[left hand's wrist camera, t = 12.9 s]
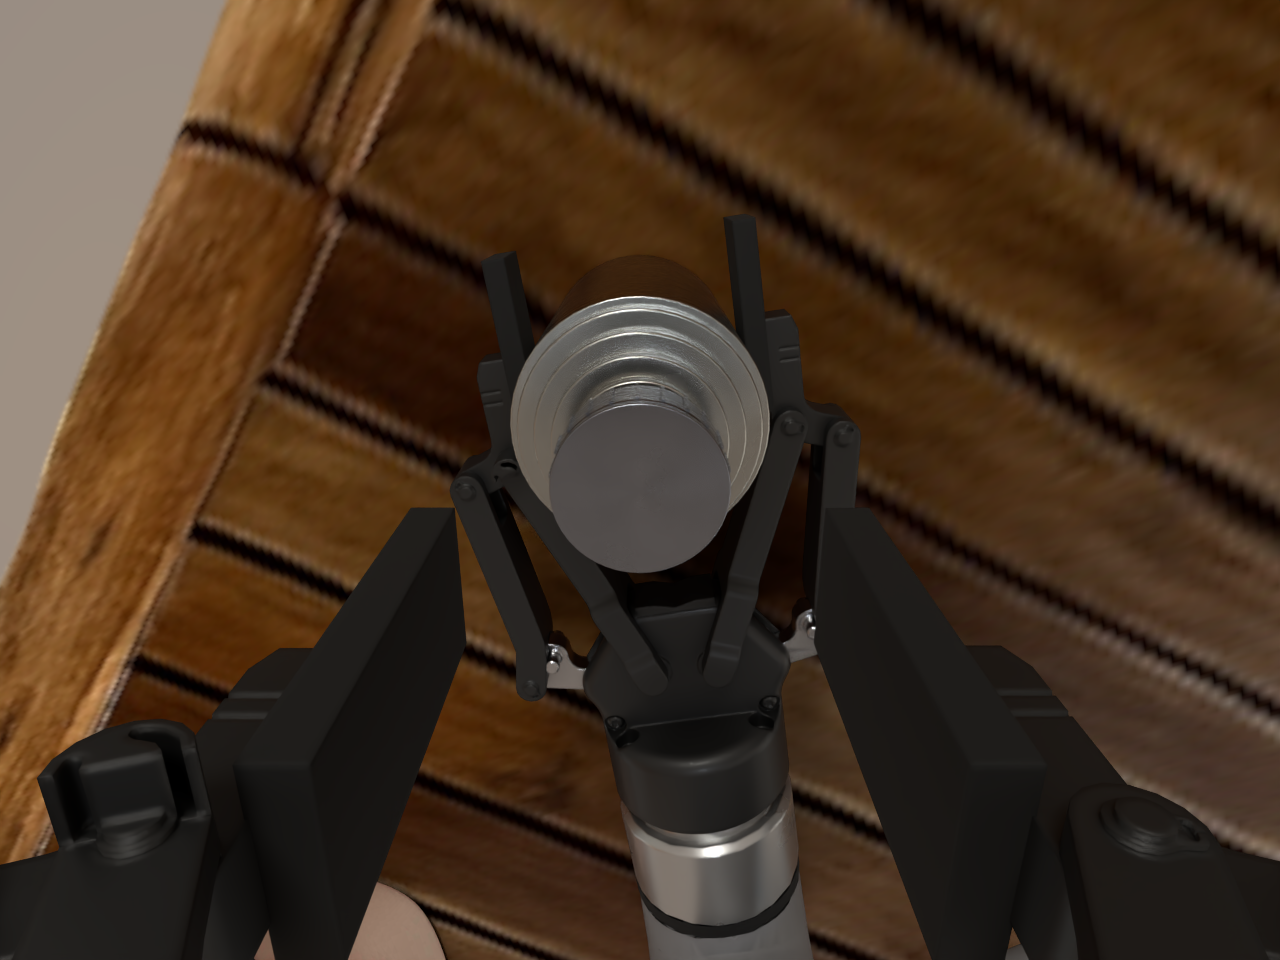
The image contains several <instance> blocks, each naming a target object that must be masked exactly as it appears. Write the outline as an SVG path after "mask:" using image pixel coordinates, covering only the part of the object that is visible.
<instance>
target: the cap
mask: <svg viewBox="0 0 1280 960" xmlns="http://www.w3.org/2000/svg"><path fill="white" fill-rule="evenodd" d="M723 449H724V445H723V442H722V438H721V435H720V432H719V430H715V428H714V426H713V425H712V423H711V422H710V420H709V419H708V416H707V413H706V411H705V410H704V411H701V410H700V409H699V408H698V407H697V406H696V405H695V404H694V403H692V402H691V401H689V400H688V397H687V396H686V395H684V396H681V395H679V394H677V393H675V392H672V391H669V390H667V389H664V386H661V387H660V388H659V387H654V386H643V385H639V383H636V384H635V386H627V387H621V388H617V389H614V387H612V388H610V391H608V392H605V393H603V394H601V395H599V396H597V397H596V398H594V399H591V398H590V399H588V402H587V404H585V405H584V406H583V407H582V408H581V409H580V410H579V411H578V412H577V413H576V414H575V415H573V414H572V415H571V416H570V419H569V423H568V425H567V426H566V428H565V430H564V432H563V434H562V435H559V437H558V440H557V443H556V447H555V450H554V454H556V455H555V457H554V458H553V462H552V465H551V468H550V471H549V475H548V478H550V479H549V495H550V503H551V507H552V511H553V514H554V517H555V519H556V522H557V524H558V526H559V527H560V529H561V531H562V533H563V534H564V535H565V537H566V538H567V539H568V541H569V542H570V543H571V544H572V545H573V546H574V547H575V548H576V549H577V550H579V551H580V552H581V553H582V554H584V555H585V556H586V557H588V558H589V559H591V560H593V561H594V562H596V563H598V564H601V565H603V566H605V567H608V568H611V569H614V570H618V571H623V572H631V573H650V572H657V571H662V570H666V569H669V568H672V567H675V566H677V565H680V564H682V563H684V562H686V561H687V560H689V559H691V558H693V557H694V556H695V555H697V554H698V553H699V552H701V551H702V550H703V549H704V548H705V547H706V546H707V545H708V544H709V543H710V542H711V541H712V539H713V538H714V537H715V536H716V534H717V533H718V531H719V529H720V528H721V526H722V524H723V522H724V519H725V517H726V515H727V511H728V508H729V504H730V497H731V479H730V472H731V468H730V464H729V461H728V458H727V455H726V452H723Z"/></svg>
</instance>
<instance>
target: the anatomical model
mask: <svg viewBox="0 0 1280 960" xmlns="http://www.w3.org/2000/svg"><path fill="white" fill-rule="evenodd" d="M254 958H255V960H275V958H274V953H273V949H272V944H271V940H270V935H269V931H267V933H266V935H265V937H264V939H263V941H262V943H261V945H260V947H259V949H258V951H257V953H256V955H255V957H254ZM348 960H446V959H445V956H444V953H443V951H442V948H441V945H440V942H439V940H438V938H437V936H436V933H435V931H434V929H433V927H432V925H431V923H430V922H429V920H428V918H427V917H426V915H425V914H424V912H423V911H422V910H421V908H420V907H419V906H418V905H417V904H416V903H415V902H414V901H413V900H411V899H410V898H409V897H408V896H406V895H404V894H403V893H401V892H400V891H398V890H396V889H394V888H392V887H390V886H387V885H385V884H382V883H379V882H377V884H376V886H375V889H374V892H373V894H372V897H371V900H370V902H369V905H368V908H367V910H366V913H365V916H364V918H363V921H362V924H361V926H360V929H359V932H358V934H357V937H356V940H355V942H354V945H353V948H352V950H351V953H350V956H349V959H348Z"/></svg>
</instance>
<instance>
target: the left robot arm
mask: <svg viewBox="0 0 1280 960" xmlns="http://www.w3.org/2000/svg"><path fill="white" fill-rule="evenodd" d="M465 646H466V632H465V621H464V610H463V598H462V587H461V576H460V564H459V553H458V541H457V530H456V519H455V508H411V509H410V510H409V512H408V513H407V514H406V516H405V517H404V519H403V520H402V522H401V523H400V524H399V526H398V527H397V529H396V530H395V532H394V533H393V535H392V536H391V537H390V539H389V540H388V542H387V543H386V545H385V546H384V547H383V549H382V550H381V552H380V553H379V555H378V556H377V558H376V559H375V560H374V562H373V563H372V565H371V566H370V568H369V569H368V570H367V572H366V573H365V575H364V576H363V578H362V579H361V581H360V582H359V583H358V585H357V586H356V588H355V589H354V591H353V592H352V593H351V595H350V596H349V598H348V599H347V601H346V602H345V604H344V605H343V606H342V608H341V609H340V611H339V612H338V614H337V615H336V616H335V618H334V619H333V621H332V622H331V624H330V625H329V627H328V628H327V629H326V631H325V632H324V634H323V635H322V637H321V638H320V639H319V641H318V642H317V644H316V645H315V647H314V648H279V649H278V650H276V651H275V652H273V653H272V654H270V655H269V656H267V657H266V658H264V659H263V660H261V661H260V662H258V663H257V664H255V665H254V666H252V667H251V668H249V669H248V670H247V671H246V673H245V674H244V675H243V676H242V678H241V679H240V680H239V681H238V683H237V684H236V685H235V686H234V688H233V689H232V690H231V691H230V693H229V697H228V699H224V700H223V701H222V703H221V704H220V705H219V707H218V708H217V709H216V710H215V712H214V713H213V714H212V715H213V716H212V719H208V720H207V722H206V723H205V724H204V725H203V727H202V728H201V729H200V730H199V732H198V733H197V734H196V735H195V734H194V732H193V731H191V730H190V729H189V728H188V727H186V726H185V725H184V724H183V723H180V722H175V721H170V720H164V719H154V720H141V721H133V722H129V723H125V724H122V725H118V726H114V727H111V728H107V729H104V730H102V731H100V732H98V733H95V734H93V735H91V736H89V737H87V738H85V739H82V740H80V741H78V742H76V743H75V744H73V745H72V746H70V747H69V748H68V749H66V750H65V751H63V752H62V753H61V754H59V755H58V756H56V757H55V758H54V759H52V760H51V761H50V763H49V764H48V765H47V766H46V768H45V769H44V770H43V771H42V773H41V774H40V775H39V776H38V777H37V780H38V783H39V786H40V789H41V792H42V795H43V798H44V802H45V805H46V808H47V811H48V814H49V817H50V820H51V823H52V826H53V829H54V832H55V835H56V838H57V841H58V844H59V850H58V851H55V852H52V853H49V854H45V855H41V856H37V857H32V858H28V859H24V860H19V861H15V862H11V863H6V864H2V865H0V960H253V959H254V957H255V955H256V953H257V951H258V949H259V947H260V945H261V943H262V941H263V939H264V937H265V935H266V933H267V931H269V935H270V940H271V944H272V949H273V953H274V958H275V960H348V959H349V956H350V953H351V950H352V948H353V945H354V942H355V940H356V937H357V934H358V932H359V929H360V926H361V924H362V921H363V918H364V916H365V913H366V910H367V908H368V905H369V902H370V900H371V897H372V894H373V892H374V889H375V886H376V884H377V881H378V878H379V876H380V873H381V870H382V868H383V865H384V862H385V860H386V857H387V854H388V852H389V849H390V846H391V843H392V841H393V838H394V835H395V833H396V830H397V827H398V825H399V822H400V819H401V817H402V814H403V811H404V809H405V806H406V803H407V801H408V798H409V795H410V793H411V790H412V787H413V785H414V782H415V779H416V777H417V774H418V771H419V769H420V766H421V763H422V761H423V758H424V755H425V753H426V750H427V747H428V744H429V742H430V739H431V736H432V734H433V731H434V728H435V726H436V723H437V720H438V718H439V715H440V712H441V710H442V707H443V704H444V702H445V699H446V696H447V694H448V691H449V688H450V686H451V683H452V680H453V678H454V675H455V672H456V670H457V667H458V664H459V662H460V659H461V656H462V654H463V651H464V648H465ZM814 646H815V648H816V651H817V654H818V656H819V659H820V662H821V664H822V667H823V670H824V672H825V675H826V678H827V680H828V683H829V686H830V688H831V691H832V694H833V696H834V699H835V702H836V704H837V707H838V710H839V712H840V715H841V718H842V720H843V723H844V726H845V728H846V731H847V734H848V736H849V739H850V742H851V744H852V747H853V750H854V753H855V755H856V758H857V761H858V763H859V766H860V769H861V771H862V774H863V777H864V779H865V782H866V785H867V787H868V790H869V793H870V795H871V798H872V801H873V803H874V806H875V809H876V811H877V814H878V817H879V819H880V822H881V825H882V827H883V830H884V833H885V835H886V838H887V841H888V843H889V846H890V849H891V852H892V854H893V857H894V860H895V862H896V865H897V868H898V870H899V873H900V876H901V878H902V881H903V884H904V886H905V889H906V892H907V894H908V897H909V900H910V902H911V905H912V908H913V910H914V913H915V916H916V918H917V921H918V924H919V926H920V929H921V932H922V934H923V937H924V940H925V942H926V945H927V948H928V950H929V953H930V956H931V959H932V960H1005V958H1006V953H1007V949H1008V944H1009V940H1010V935H1011V931H1012V927H1013V929H1014V931H1015V933H1016V935H1017V937H1018V939H1019V941H1020V943H1021V945H1022V947H1023V949H1024V951H1025V953H1026V955H1027V957H1028V959H1029V960H1280V861H1276V860H1272V859H1267V858H1263V857H1259V856H1254V855H1250V854H1246V853H1241V852H1237V851H1233V850H1230V849H1227V848H1223V847H1221V846H1220V845H1219V843H1218V842H1217V840H1216V839H1215V837H1214V836H1213V835H1212V833H1211V832H1210V830H1209V829H1208V827H1207V826H1206V825H1204V824H1203V823H1202V822H1201V821H1200V820H1198V819H1197V818H1196V817H1195V816H1193V815H1192V814H1191V813H1190V812H1189V811H1187V810H1186V809H1185V808H1183V807H1181V806H1179V805H1178V804H1176V803H1174V802H1172V801H1170V800H1168V799H1166V798H1164V797H1162V796H1160V795H1159V794H1156V793H1153V792H1150V791H1147V790H1143V789H1140V788H1137V787H1134V786H1131V785H1127V784H1126V783H1125V781H1124V780H1123V779H1122V778H1121V776H1120V775H1119V774H1118V773H1117V771H1116V770H1115V769H1114V768H1113V766H1112V765H1111V764H1110V763H1109V761H1108V760H1107V759H1106V758H1105V756H1104V755H1103V754H1102V753H1101V751H1100V750H1099V749H1098V748H1097V747H1096V745H1095V744H1094V743H1093V742H1092V740H1091V739H1090V738H1089V737H1088V735H1087V734H1086V733H1085V732H1084V730H1083V729H1082V728H1081V727H1080V725H1079V724H1078V723H1077V722H1076V720H1075V719H1074V718H1073V717H1069V715H1068V710H1067V709H1066V708H1065V707H1064V705H1063V704H1062V703H1061V702H1060V700H1059V699H1058V698H1057V697H1056V696H1052V691H1051V689H1050V688H1049V687H1048V686H1047V684H1046V683H1045V682H1044V681H1043V679H1042V678H1041V677H1040V676H1039V674H1038V673H1037V672H1036V671H1035V669H1034V668H1033V667H1032V666H1031V665H1029V664H1028V663H1026V662H1025V661H1023V660H1022V659H1020V658H1019V657H1017V656H1016V655H1014V654H1013V653H1011V652H1010V651H1008V650H1007V649H1005V648H1004V647H1002V646H965V645H964V644H963V642H962V641H961V639H960V638H959V637H958V635H957V634H956V632H955V631H954V629H953V628H952V627H951V625H950V624H949V622H948V621H947V619H946V618H945V616H944V615H943V614H942V612H941V611H940V609H939V608H938V606H937V605H936V604H935V602H934V601H933V599H932V598H931V596H930V595H929V593H928V592H927V591H926V589H925V588H924V586H923V585H922V583H921V582H920V581H919V579H918V578H917V576H916V575H915V573H914V572H913V570H912V569H911V568H910V566H909V565H908V563H907V562H906V560H905V559H904V558H903V556H902V555H901V553H900V552H899V550H898V549H897V547H896V546H895V545H894V543H893V542H892V540H891V539H890V537H889V536H888V535H887V533H886V532H885V530H884V529H883V527H882V526H881V524H880V523H879V522H878V520H877V519H876V517H875V516H874V514H873V513H872V512H871V510H870V509H869V508H825V519H824V530H823V541H822V553H821V564H820V575H819V587H818V598H817V610H816V621H815V632H814Z"/></svg>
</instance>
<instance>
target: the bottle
mask: <svg viewBox="0 0 1280 960" xmlns="http://www.w3.org/2000/svg"><path fill="white" fill-rule="evenodd" d="M636 383H639V385H643V386H654V387H659V388H660V387H661V386H664V389H667V390H669V391H672V392H675V393H677V394H679V395H681V396H684V395H686V396H687V397H688V400H689V401H691V402H692V403H694V404H695V405H696V406H697V407H698V408H699V409H700V410H701V411H704V410H705V411H706V413H707V416H708V419H709V420H710V422H711V423H712V425H713V426H714V428H715V430H719V432H720V435H721V438H722V442H723V445H724V449H723V452H726V455H727V458H728V461H729V464H730V468H731V472H730V479H731V497H730V504H729V508H728V511H727V513H728V512H729V511H730V510H731V509H732V508H733V507H734V506H735V505H736V504H737V503H738V502H739V500H740V499H741V498H742V497H743V495H744V494H745V493H746V492H747V490H748V489H749V487H750V486H751V484H752V482H753V481H754V479H755V477H756V476H757V473H758V471H759V469H760V467H761V464H762V462H763V459H764V455H765V452H766V448H767V444H768V437H769V430H770V411H769V403H768V396H767V392H766V389H765V385H764V381H763V379H762V376H761V374H760V372H759V369H758V367H757V365H756V363H755V362H754V360H753V358H752V357H751V355H750V353H749V352H748V350H747V348H746V347H745V345H744V344H743V342H742V340H741V339H740V337H739V336H738V334H737V332H736V331H735V329H734V328H733V326H732V324H731V323H730V321H729V320H728V318H727V316H726V315H725V313H724V312H723V310H722V309H721V307H720V305H719V304H718V302H717V301H716V299H715V297H714V296H713V294H712V293H711V291H710V290H709V289H708V288H707V286H706V285H705V284H704V283H703V282H702V281H701V280H700V279H699V278H698V277H697V276H696V275H695V274H693V273H692V272H690V271H689V270H688V269H686V268H684V267H683V266H681V265H679V264H677V263H675V262H672V261H669V260H667V259H664V258H659V257H655V256H645V255H636V256H626V257H621V258H617V259H614V260H611V261H608V262H605V263H603V264H601V265H599V266H597V267H596V268H594V269H593V270H591V271H590V272H588V273H587V274H586V275H584V276H583V277H582V278H581V279H580V280H579V281H578V282H577V283H576V284H575V285H574V286H573V288H572V289H571V290H570V291H569V293H568V295H567V296H566V298H565V299H564V301H563V302H562V304H561V306H560V307H559V309H558V310H557V312H556V314H555V315H554V317H553V318H552V320H551V322H550V323H549V325H548V326H547V328H546V329H545V331H544V333H543V334H542V336H541V337H540V339H539V341H538V342H537V344H536V345H535V347H534V349H533V350H532V352H531V353H530V355H529V357H528V358H527V360H526V361H525V363H524V366H523V368H522V370H521V372H520V374H519V376H518V379H517V382H516V386H515V389H514V392H513V398H512V404H511V415H510V428H511V437H512V443H513V447H514V451H515V455H516V459H517V461H518V464H519V466H520V469H521V471H522V473H523V475H524V477H525V479H526V480H527V482H528V484H529V486H530V487H531V489H532V490H533V491H534V493H535V494H536V495H537V497H538V498H539V499H540V500H541V501H542V502H543V503H544V505H545V506H546V507H547V508H548V509H549V510H550V511H551V512H553V511H552V507H551V503H550V495H549V479H550V478H548V475H549V471H550V468H551V465H552V462H553V458H554V457H555V455H556V454H554V450H555V447H556V443H557V440H558V437H559V435H562V434H563V432H564V430H565V428H566V426H567V425H568V423H569V419H570V416H571V415H572V414H573V415H575V414H576V413H577V412H578V411H579V410H580V409H581V408H582V407H583V406H584V405H585V404H587V402H588V399H590V398H591V399H594V398H596V397H597V396H599V395H601V394H603V393H605V392H608V391H610V388H612V387H614V389H617V388H621V387H627V386H635V384H636Z"/></svg>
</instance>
